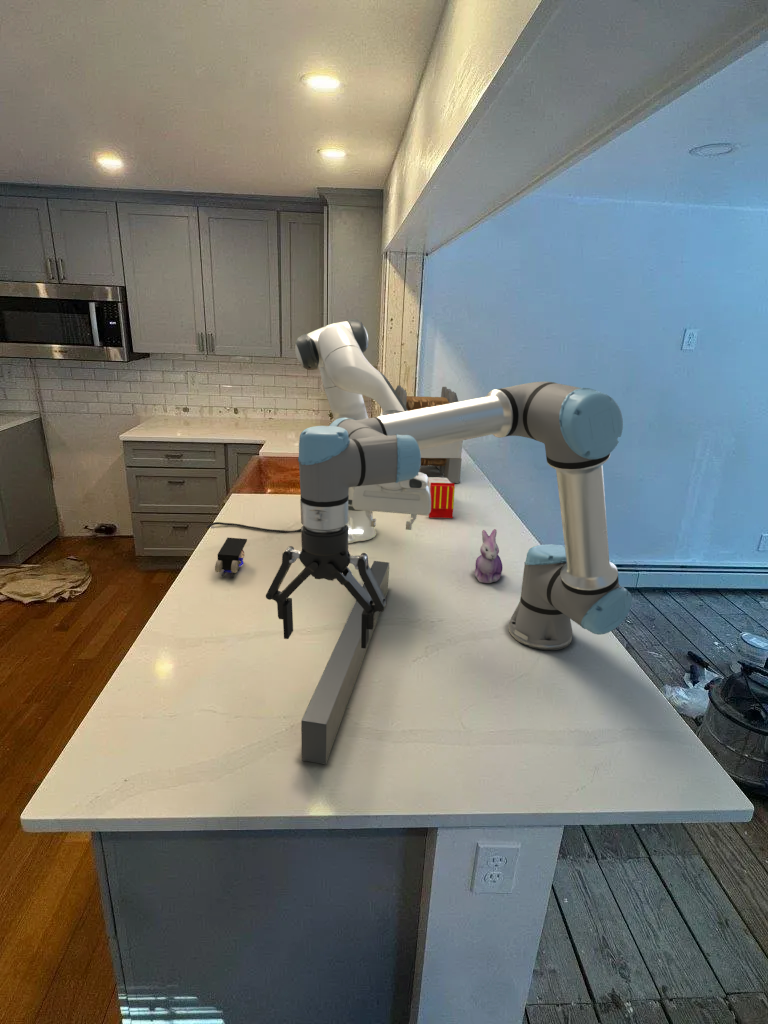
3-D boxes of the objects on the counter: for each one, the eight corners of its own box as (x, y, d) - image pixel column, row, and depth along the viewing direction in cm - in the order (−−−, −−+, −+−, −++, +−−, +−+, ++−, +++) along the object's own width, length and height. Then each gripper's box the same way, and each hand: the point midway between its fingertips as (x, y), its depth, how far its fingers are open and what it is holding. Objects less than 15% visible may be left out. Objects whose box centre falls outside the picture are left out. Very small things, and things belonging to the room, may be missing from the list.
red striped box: (448, 473, 241) (459, 484, 212) (446, 504, 244) (457, 519, 215) (419, 472, 241) (426, 483, 211) (418, 503, 243) (425, 518, 214)
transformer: (382, 463, 289) (386, 382, 275) (445, 464, 293) (451, 384, 279) (390, 482, 257) (394, 392, 243) (460, 483, 261) (468, 394, 247)
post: (372, 588, 161) (373, 560, 158) (388, 589, 160) (389, 562, 157) (301, 760, 99) (301, 720, 96) (325, 764, 98) (326, 724, 95)
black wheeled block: (238, 584, 162) (249, 557, 175) (236, 562, 158) (247, 536, 172) (215, 584, 161) (227, 556, 175) (212, 561, 158) (225, 535, 171)
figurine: (485, 587, 164) (491, 539, 159) (465, 572, 172) (469, 526, 167) (511, 581, 168) (517, 534, 163) (490, 567, 176) (495, 522, 171)
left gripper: (350, 476, 140) (348, 528, 145) (432, 483, 138) (428, 535, 143) (354, 470, 146) (353, 520, 151) (433, 475, 144) (429, 526, 149)
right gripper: (241, 526, 89) (249, 642, 96) (398, 540, 85) (394, 660, 92) (259, 510, 96) (265, 619, 103) (405, 522, 92) (401, 635, 99)
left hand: (390, 527), depth 147 cm, fingers open, 8 cm apart
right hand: (326, 639), depth 98 cm, fingers open, 13 cm apart
